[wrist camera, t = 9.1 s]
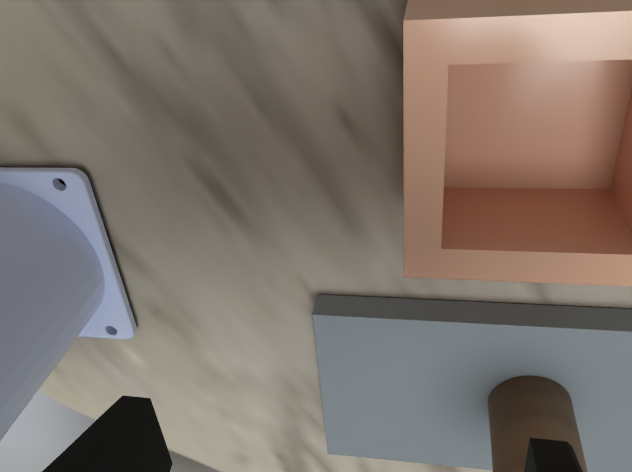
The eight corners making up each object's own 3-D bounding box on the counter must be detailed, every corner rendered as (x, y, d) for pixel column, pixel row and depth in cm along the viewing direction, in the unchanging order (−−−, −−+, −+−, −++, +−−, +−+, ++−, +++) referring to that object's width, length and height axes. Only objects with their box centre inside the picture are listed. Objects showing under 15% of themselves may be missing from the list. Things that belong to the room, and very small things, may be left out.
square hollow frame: (410, 206, 20) (404, 277, 17) (411, -15, 16) (403, 20, 13) (634, 209, 19) (676, 287, 15) (692, -31, 15) (763, 5, 12)
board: (332, 431, 27) (327, 453, 26) (317, 294, 23) (312, 314, 22) (720, 467, 24) (731, 493, 23) (788, 316, 20) (806, 340, 19)
